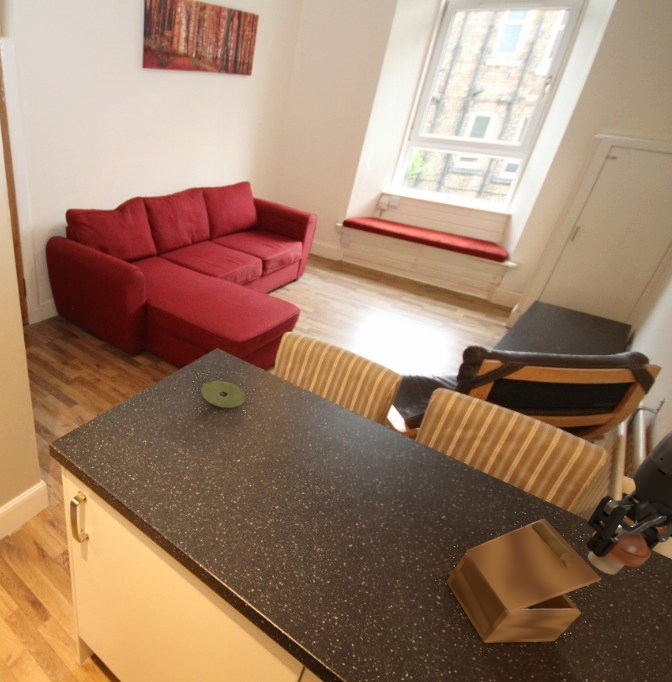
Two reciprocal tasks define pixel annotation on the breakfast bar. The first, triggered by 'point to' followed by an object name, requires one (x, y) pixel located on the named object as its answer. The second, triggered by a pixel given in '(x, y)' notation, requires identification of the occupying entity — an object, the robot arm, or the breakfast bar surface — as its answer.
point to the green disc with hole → (223, 394)
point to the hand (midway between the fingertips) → (613, 551)
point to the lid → (531, 566)
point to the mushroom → (622, 554)
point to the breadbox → (494, 617)
